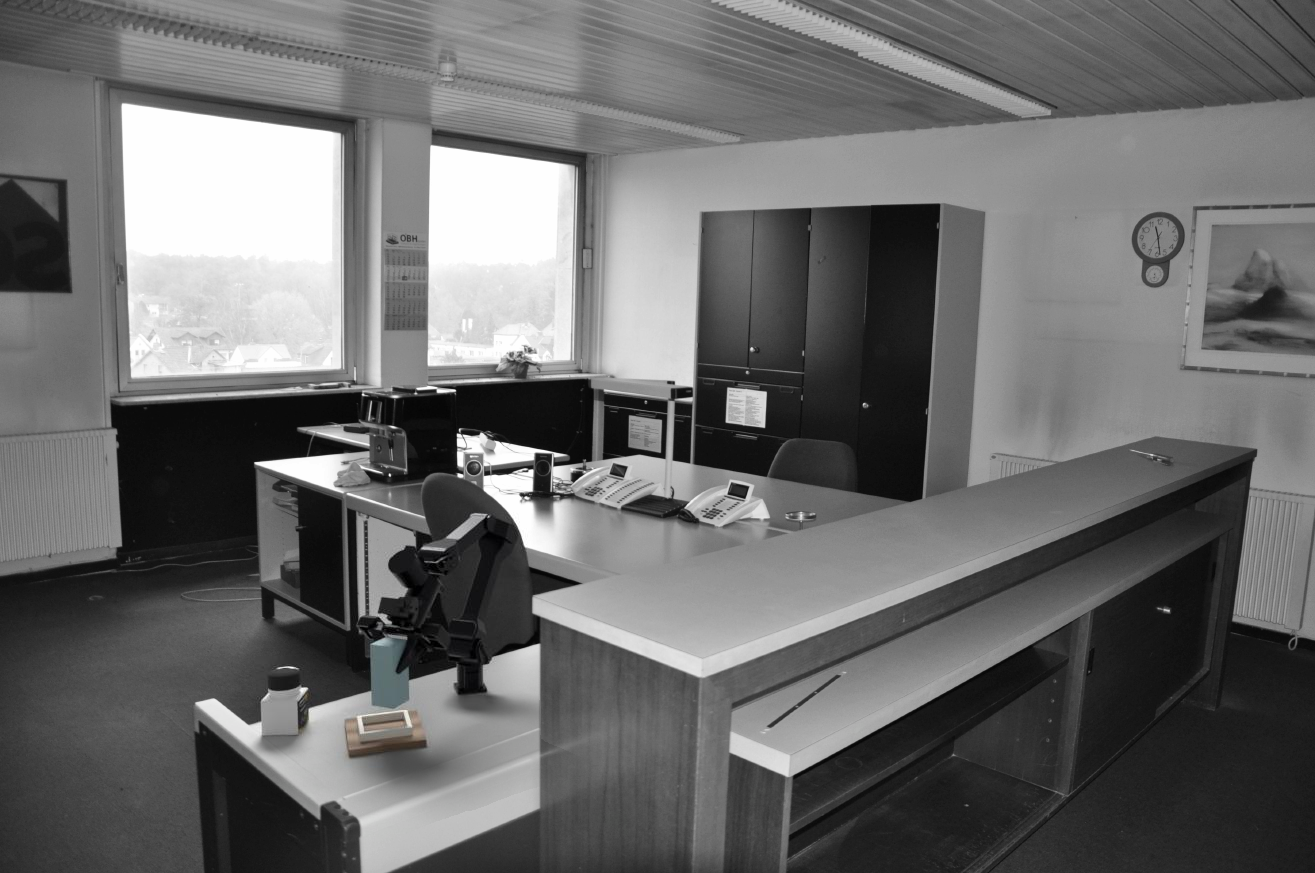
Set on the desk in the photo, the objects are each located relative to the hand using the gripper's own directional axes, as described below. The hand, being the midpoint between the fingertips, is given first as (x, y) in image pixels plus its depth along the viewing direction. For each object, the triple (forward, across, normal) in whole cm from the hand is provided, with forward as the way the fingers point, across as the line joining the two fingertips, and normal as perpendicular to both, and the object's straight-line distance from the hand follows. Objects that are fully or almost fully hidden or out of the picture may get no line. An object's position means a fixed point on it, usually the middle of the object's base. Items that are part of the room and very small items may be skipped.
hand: (385, 671), depth 182 cm
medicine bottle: (+12, -22, +8) cm, 26 cm away
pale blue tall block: (+4, 0, +6) cm, 7 cm away
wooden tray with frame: (+8, -2, +11) cm, 14 cm away
